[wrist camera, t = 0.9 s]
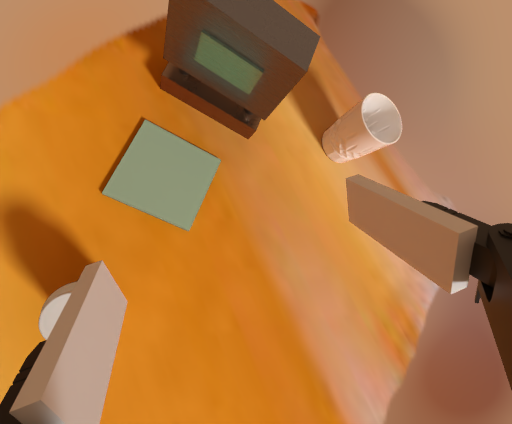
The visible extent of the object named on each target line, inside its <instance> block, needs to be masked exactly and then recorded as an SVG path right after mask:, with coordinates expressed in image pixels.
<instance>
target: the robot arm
mask: <svg viewBox="0 0 512 424" xmlns="http://www.w3.org/2000/svg"><path fill="white" fill-rule="evenodd" d="M346 187H347V200H348V212H349V221H350V222H351V223H352V224H354V225H355V226H357V227H358V228H359V229H361V230H362V231H364V232H365V233H366V234H368V235H369V236H371V237H372V238H373V239H375V240H376V241H377V242H379V243H380V244H382V245H383V246H384V247H386V248H387V249H389V250H390V251H391V252H393V253H394V254H395V255H397V256H398V257H400V258H401V259H402V260H404V261H405V262H407V263H408V264H409V265H411V266H412V267H414V268H415V269H416V270H418V271H419V272H420V273H422V274H423V275H425V276H426V277H427V278H429V279H430V280H432V281H433V282H434V283H436V284H437V285H438V286H440V287H441V288H443V289H444V290H445V291H447V292H448V293H450V294H453V293H455V292H457V291H459V290H462V289H464V288H466V287H467V286H468V281H469V275H472V276H473V277H475V278H477V279H478V280H479V281H478V286H477V291H476V296H475V303H479V299H480V298H481V299H482V302H483V305H484V308H485V311H486V314H487V317H488V320H489V323H490V326H491V329H492V332H493V335H494V338H495V341H496V344H497V347H498V350H499V353H500V356H501V359H502V362H503V365H504V368H505V372H506V375H507V378H508V381H509V383H510V387H511V390H512V224H510V223H504V224H497V225H493V226H490V225H488V224H486V223H483V222H481V221H478V220H476V219H473V218H471V217H469V216H466V215H464V214H461V213H457V212H456V211H454V210H452V209H448V208H447V207H444V206H442V205H439V204H437V203H432V202H427V201H419V200H416V199H414V198H412V197H409V196H407V195H405V194H403V193H400V192H398V191H396V190H393V189H391V188H389V187H386V186H384V185H382V184H379V183H377V182H375V181H372V180H370V179H368V178H365V177H363V176H361V175H355V176H352V177H349V178H346ZM126 306H127V300H126V298H125V297H124V295H123V293H122V292H121V290H120V289H119V287H118V285H117V284H116V282H115V280H114V279H113V277H112V275H111V274H110V272H109V270H108V269H107V267H106V266H105V264H104V262H103V261H99V262H96V263H93V264H90V265H87V266H85V268H84V270H83V272H82V274H81V276H80V278H79V280H78V282H77V283H76V285H75V287H74V289H73V291H72V293H71V295H70V297H69V299H68V301H67V303H66V304H65V306H64V308H63V310H62V312H61V314H60V316H59V318H58V320H57V322H56V324H55V325H54V327H53V329H52V331H51V333H50V335H49V337H48V339H47V340H45V341H43V342H40V343H39V344H38V345H37V346H36V348H35V349H34V350H33V351H32V352H31V353H30V354H29V355H28V356H27V358H26V360H25V362H24V363H23V365H22V367H21V369H20V370H19V371H20V373H18V374H17V376H16V378H15V379H14V381H13V385H12V386H10V388H9V390H8V392H7V393H6V395H5V397H4V399H3V400H2V402H1V404H0V424H99V423H100V419H101V414H102V410H103V406H104V401H105V397H106V393H107V388H108V384H109V380H110V375H111V371H112V367H113V362H114V358H115V354H116V349H117V345H118V341H119V336H120V332H121V327H122V323H123V319H124V314H125V310H126Z"/></svg>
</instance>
